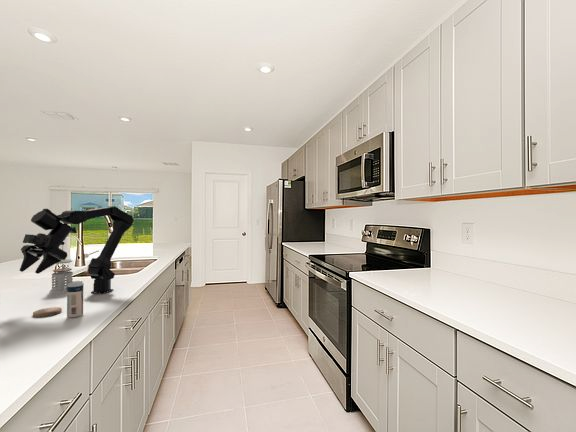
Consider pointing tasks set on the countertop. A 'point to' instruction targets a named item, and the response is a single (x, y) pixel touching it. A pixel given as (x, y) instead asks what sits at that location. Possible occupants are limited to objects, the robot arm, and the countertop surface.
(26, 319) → the countertop surface
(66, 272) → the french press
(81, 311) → the beer can
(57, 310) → the walnut coaster
